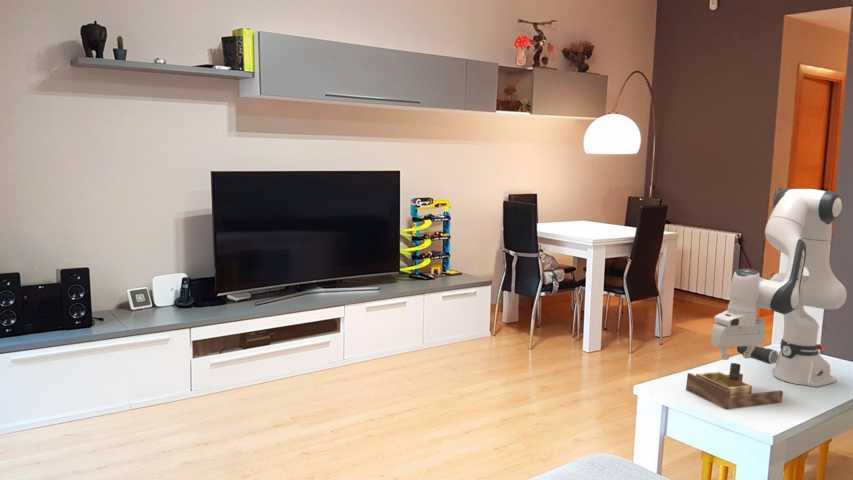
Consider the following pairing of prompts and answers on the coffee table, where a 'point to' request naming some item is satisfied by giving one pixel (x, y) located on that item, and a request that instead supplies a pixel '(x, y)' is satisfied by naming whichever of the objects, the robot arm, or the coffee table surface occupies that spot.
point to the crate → (728, 380)
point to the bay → (723, 395)
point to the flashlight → (761, 353)
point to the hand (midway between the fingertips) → (735, 358)
